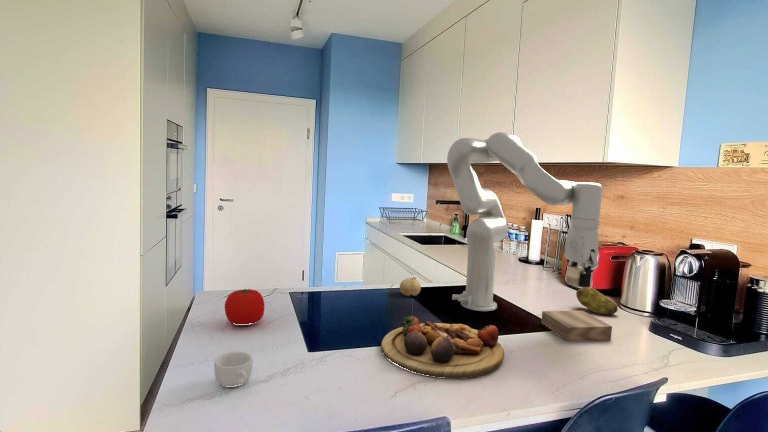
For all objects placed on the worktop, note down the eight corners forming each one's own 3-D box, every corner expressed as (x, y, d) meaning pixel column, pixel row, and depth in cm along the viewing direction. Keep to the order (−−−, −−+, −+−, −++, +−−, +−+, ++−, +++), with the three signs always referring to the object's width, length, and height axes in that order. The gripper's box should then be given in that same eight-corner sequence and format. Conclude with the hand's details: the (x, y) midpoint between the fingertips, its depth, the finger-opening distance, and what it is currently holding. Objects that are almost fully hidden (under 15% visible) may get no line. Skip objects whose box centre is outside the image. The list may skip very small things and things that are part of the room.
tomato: (261, 315, 133) (261, 282, 131) (268, 328, 122) (268, 293, 120) (222, 319, 128) (222, 285, 127) (226, 334, 117) (226, 297, 116)
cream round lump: (416, 299, 155) (417, 280, 154) (396, 296, 158) (397, 278, 157) (422, 293, 162) (423, 275, 162) (403, 291, 165) (403, 273, 164)
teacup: (209, 381, 91) (208, 357, 90) (243, 371, 96) (243, 348, 96) (227, 401, 84) (226, 375, 83) (263, 388, 89) (263, 364, 88)
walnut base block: (566, 341, 120) (567, 327, 120) (541, 323, 134) (542, 311, 134) (610, 339, 123) (612, 326, 122) (581, 322, 136) (582, 310, 136)
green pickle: (606, 319, 141) (608, 296, 140) (571, 307, 151) (573, 286, 150) (619, 315, 145) (622, 292, 144) (584, 304, 156) (586, 283, 155)
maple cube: (575, 287, 124) (577, 270, 123) (566, 282, 129) (567, 266, 128) (591, 287, 125) (593, 270, 124) (581, 282, 130) (582, 266, 129)
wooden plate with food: (500, 336, 123) (501, 308, 123) (508, 389, 92) (510, 352, 92) (393, 326, 130) (394, 299, 129) (367, 372, 99) (368, 338, 98)
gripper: (556, 220, 132) (551, 276, 134) (591, 228, 116) (584, 292, 118) (578, 220, 134) (573, 276, 136) (615, 228, 117) (608, 292, 119)
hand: (578, 283), depth 127 cm, fingers closed on maple cube, 5 cm apart
